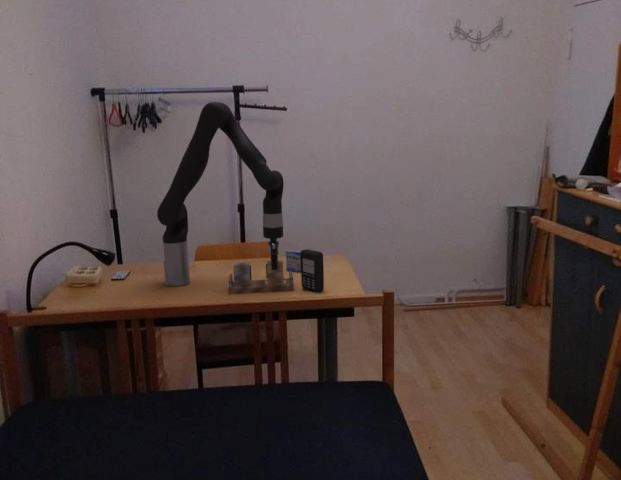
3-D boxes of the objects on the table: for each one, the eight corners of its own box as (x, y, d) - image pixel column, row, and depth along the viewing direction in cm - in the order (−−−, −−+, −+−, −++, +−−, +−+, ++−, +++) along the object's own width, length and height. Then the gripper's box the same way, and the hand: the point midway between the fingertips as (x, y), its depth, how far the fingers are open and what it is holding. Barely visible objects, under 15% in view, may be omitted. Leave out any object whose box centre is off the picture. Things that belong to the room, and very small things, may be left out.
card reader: (300, 288, 223) (298, 250, 220) (307, 286, 226) (306, 248, 222) (317, 293, 216) (316, 253, 213) (324, 291, 219) (323, 251, 216)
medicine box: (286, 271, 249) (285, 251, 247) (291, 268, 253) (290, 248, 251) (302, 272, 245) (301, 252, 243) (307, 270, 249) (306, 250, 247)
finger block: (266, 284, 223) (265, 263, 221) (266, 281, 227) (265, 261, 225) (283, 283, 223) (282, 262, 222) (283, 280, 227) (282, 260, 225)
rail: (229, 294, 219) (227, 268, 217) (230, 286, 229) (228, 261, 227) (293, 290, 221) (292, 264, 219) (292, 283, 231) (291, 258, 229)
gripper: (262, 221, 227) (264, 262, 230) (263, 228, 213) (264, 272, 216) (282, 220, 227) (283, 261, 231) (283, 228, 214) (284, 271, 217)
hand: (274, 266), depth 224 cm, fingers open, 8 cm apart
